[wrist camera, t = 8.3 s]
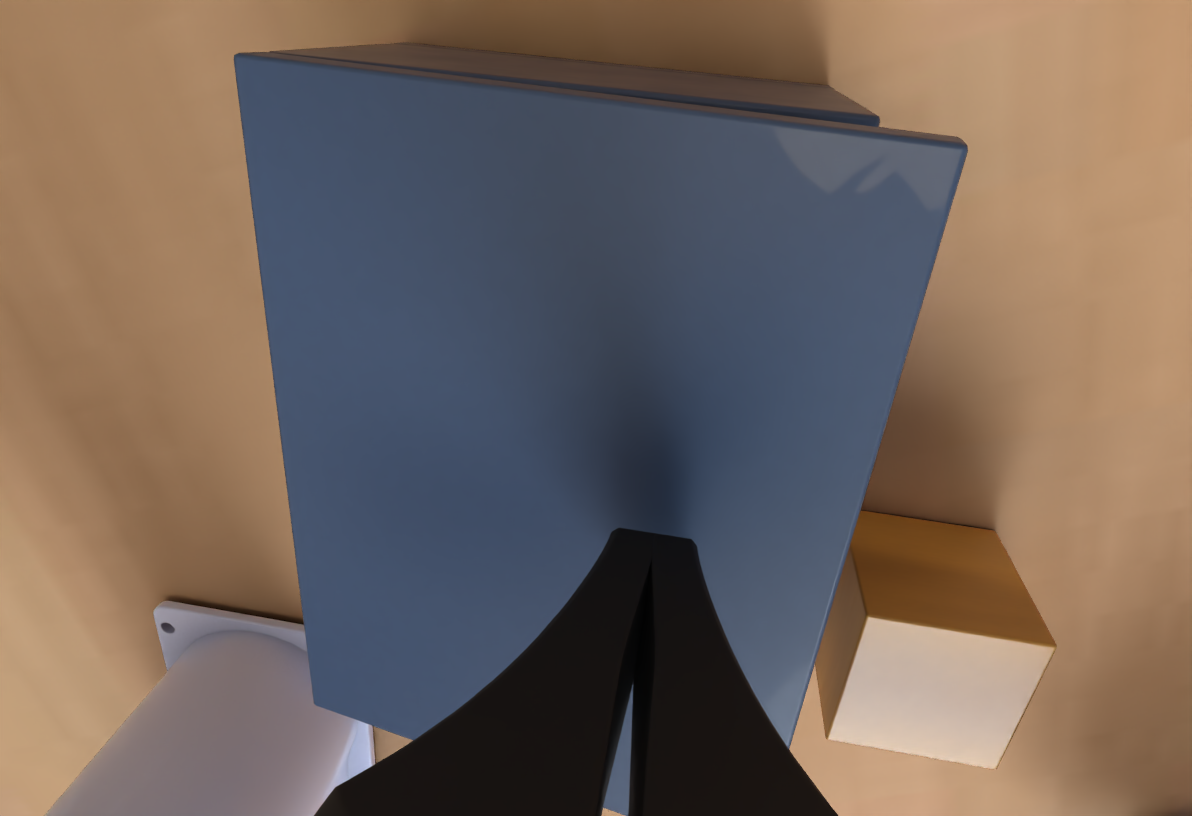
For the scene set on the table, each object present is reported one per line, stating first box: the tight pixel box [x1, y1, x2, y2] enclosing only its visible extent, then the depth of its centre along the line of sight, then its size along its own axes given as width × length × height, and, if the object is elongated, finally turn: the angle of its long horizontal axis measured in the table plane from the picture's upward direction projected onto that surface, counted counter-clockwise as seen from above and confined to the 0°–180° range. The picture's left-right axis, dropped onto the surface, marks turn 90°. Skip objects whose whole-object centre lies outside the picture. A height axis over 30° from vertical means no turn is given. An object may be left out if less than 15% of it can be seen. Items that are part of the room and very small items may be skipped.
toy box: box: [269, 42, 880, 127], centre depth 18 cm, size 10×15×6 cm
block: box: [815, 510, 1057, 770], centre depth 21 cm, size 4×4×5 cm
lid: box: [234, 52, 968, 816], centre depth 14 cm, size 11×15×1 cm
